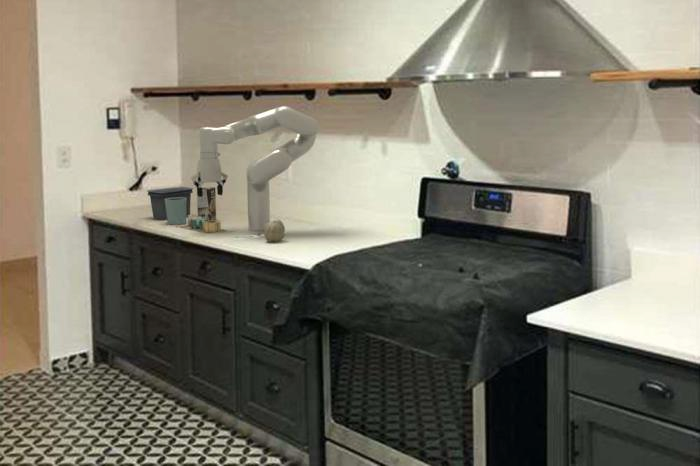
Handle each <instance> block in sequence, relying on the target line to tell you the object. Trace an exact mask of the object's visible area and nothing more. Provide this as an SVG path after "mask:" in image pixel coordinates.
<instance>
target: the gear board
mask: <svg viewBox="0 0 700 466" xmlns="http://www.w3.org/2000/svg"><path fill="white" fill-rule="evenodd" d="M204 221H208V219H206V218H202V217H198V216H197V217H196V218H193V214H190V215H188V216H187V224H182V225H174V226H175V228H179V229H180V228H181V229H184V230H188V231H192V232H199V233H202V234H209V233H210V234H212V233H213V232H203V222H204ZM226 231H227V230H226V229H222V228H221V231H219V232H226ZM219 232H218V233H219Z"/></svg>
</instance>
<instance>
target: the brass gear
mask: <svg viewBox="0 0 700 466" xmlns="http://www.w3.org/2000/svg"><path fill="white" fill-rule="evenodd" d="M221 229H222V223H221V221H220V220H216V221H204V222H203V232H212V233H219V231H220V232H222V231H221Z"/></svg>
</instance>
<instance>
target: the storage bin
mask: <svg viewBox="0 0 700 466" xmlns="http://www.w3.org/2000/svg"><path fill="white" fill-rule="evenodd" d="M193 189H194V187H188V186H175V187H174V186H173V187H165V188H155V189H148V190H146V192H147V196H149V198H150V206H151V212H152V217H153V219H155V220H159V221H166V220H167V219H168V218H167V213H166V206H165V199H167V198H176V197H183V198H186V218H188V215H191V197H192V196H191V194H193V191H194V190H193Z"/></svg>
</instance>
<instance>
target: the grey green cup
mask: <svg viewBox="0 0 700 466" xmlns="http://www.w3.org/2000/svg"><path fill="white" fill-rule="evenodd" d="M165 206H166V213H167V218H168V219H166V220H167V224H168V225H170V226H183V225H187V217H186V198H183V197H176V198H167V199H165Z"/></svg>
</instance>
